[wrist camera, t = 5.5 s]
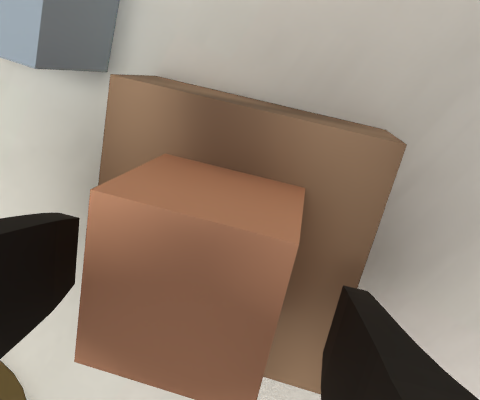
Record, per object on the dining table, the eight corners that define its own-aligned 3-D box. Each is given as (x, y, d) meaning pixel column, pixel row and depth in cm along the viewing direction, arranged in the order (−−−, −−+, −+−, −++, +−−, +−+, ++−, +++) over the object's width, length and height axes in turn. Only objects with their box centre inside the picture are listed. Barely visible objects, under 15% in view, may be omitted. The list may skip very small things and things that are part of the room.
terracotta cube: (305, 188, 12) (299, 244, 8) (272, 313, 14) (251, 417, 10) (165, 153, 13) (90, 189, 9) (146, 277, 14) (74, 361, 10)
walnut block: (384, 129, 15) (407, 144, 12) (319, 328, 18) (320, 394, 14) (158, 75, 16) (110, 74, 13) (129, 273, 19) (83, 320, 15)
